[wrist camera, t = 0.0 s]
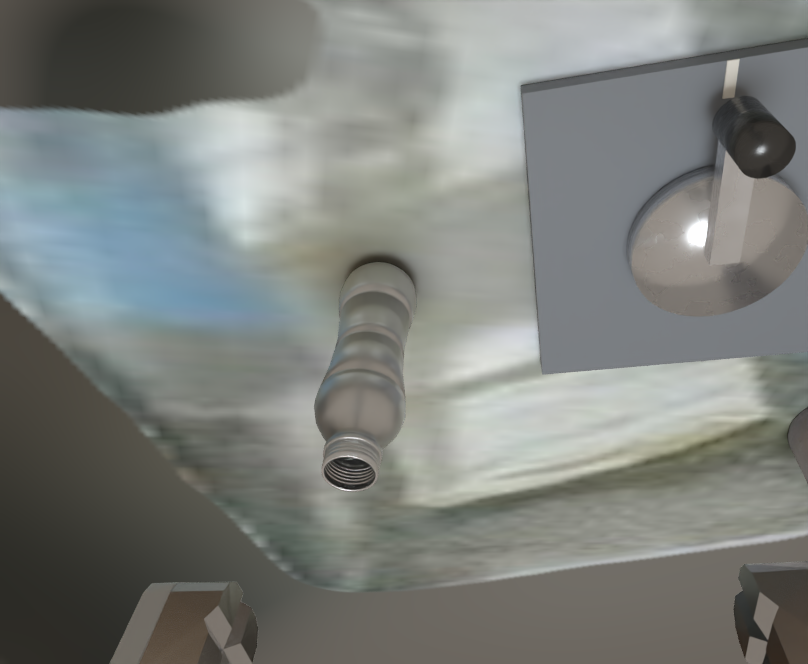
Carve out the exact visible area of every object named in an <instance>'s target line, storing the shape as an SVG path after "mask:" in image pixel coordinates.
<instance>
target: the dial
mask: <svg viewBox="0 0 808 664" xmlns="http://www.w3.org/2000/svg"><path fill="white" fill-rule="evenodd" d="M712 129H713V132H714V135H715V136H716V137H717V139H718V148H717V155H716V163H715V165H713V166H708V167H705V168H701V169H698V170H695V171H693V172H690V173H688V174H685V175H683V176H681V177H680V178H678V179H676V180H674V181H672V182H671V183H669V184H668V185H666V186H665V187H663V188H662V189H661V190H660V191H659V192H657V193H656V194H655V195H654V196H653V197H652V198H651V199H650V200H649V201H648V202H647V203H646V204H645V206H644V207H643V208H642V210H641V211H640V212H639V214H638V216H637V217H636V219H635V221H634V223H633V225H632V227H631V230H630V233H629V237H628V243H627V257H628V262H629V265H630V268H631V271H632V274H633V277H634V280H635V282H636V284H637V287H638V288H639V290H640V291H641V293H642V294H643V295H644V296H645V297H646V299H647V300H649V301H650V302H651V303H652V304H654V305H655V306H657V307H659V308H661V309H663V310H665V311H668V312H670V313H674V314H678V315H684V316H694V317H702V316H713V315H720V314H724V313H729V312H732V311H735V310H738V309H741V308H743V307H746V306H748V305H751V304H753V303H754V302H756V301H758V300H760V299H762V298H763V297H765V296H766V295H768V294H770V293H771V292H772V291H774V290H775V289H776V288H777V287H779V286H780V285H781V284H782V283H783V282H784V281H785V280H786V279H787V278H788V277H789V276H790V275H791V273H792V272H793V271H794V270H795V268H796V267H797V265H798V264H799V262H800V261H801V259H802V257H803V255H804V253H805V251H806V248H807V245H808V214H807V211H806V209H805V206H804V205H803V203H802V202H801V200H800V199H799V198H798V196H797V195H796V194H795V193H794V192H793V190H792V189H791V188H790V187H789V186H788V184H787V183H786V182H785V181H784V180H783V179H782V178H780V177H779V176H777V175H776V174H777V173H778V172H780V171H781V170H783V169H784V168H785V167H786V166H787V165H788V164H789V163H790V161H791V160H792V158H793V156H794V154H795V150H796V142H795V139H794V137H793V136H792V135H791V134H790V133H789V131H788V130H787V129H786V128H785V127H784V126H783V125H782V124H781V123H780V122H779V121H778V120H777V119H776V118H775V117H774V116H773V115H772V114H771V113H770V112H769V111H768V110H767V108H766V107H765V106H764V105H763V104H762V103H761V102H760V101H759V100H758V99H756V98H754V97H751V96H740V97H736V98H733V99H731V100H729V101H728V102H726V103H725V104H724V105H722V106H721V107H720V108H719V110H718V111H717V113H716V114H715V116H714V119H713V123H712Z"/></svg>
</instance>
